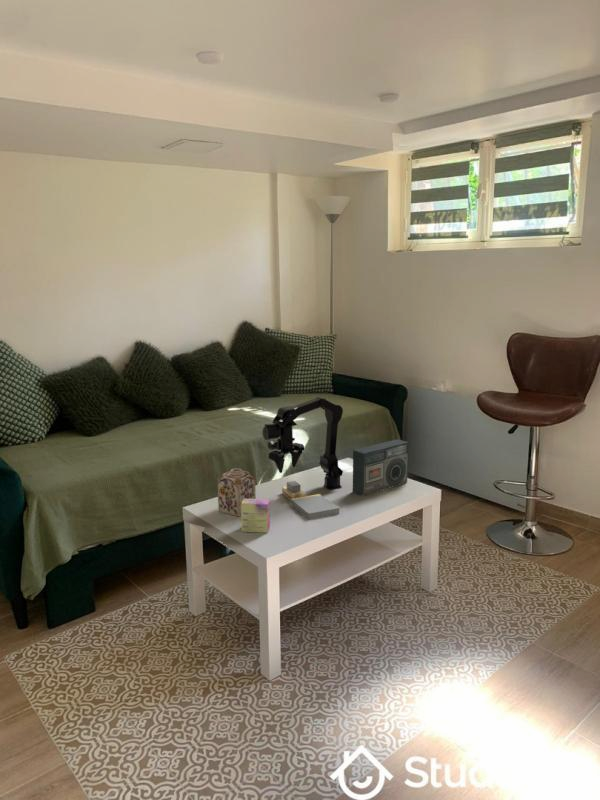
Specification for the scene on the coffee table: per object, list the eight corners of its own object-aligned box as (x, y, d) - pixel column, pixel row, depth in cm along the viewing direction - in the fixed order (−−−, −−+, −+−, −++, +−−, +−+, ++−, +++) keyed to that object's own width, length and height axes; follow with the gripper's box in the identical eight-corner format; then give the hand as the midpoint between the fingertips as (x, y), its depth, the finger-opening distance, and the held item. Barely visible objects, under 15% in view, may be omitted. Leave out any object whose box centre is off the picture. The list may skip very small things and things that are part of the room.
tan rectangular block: (294, 491, 278) (294, 484, 278) (305, 500, 268) (305, 493, 267) (282, 493, 276) (282, 486, 275) (293, 502, 265) (293, 495, 264)
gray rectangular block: (294, 487, 274) (294, 480, 274) (300, 491, 269) (300, 484, 268) (286, 488, 273) (286, 482, 272) (292, 492, 267) (292, 486, 267)
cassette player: (363, 496, 272) (363, 453, 268) (352, 492, 278) (353, 450, 274) (407, 482, 290) (408, 442, 286) (396, 478, 295) (397, 439, 291)
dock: (319, 499, 268) (319, 493, 268) (339, 513, 252) (339, 507, 252) (290, 504, 262) (290, 498, 262) (308, 519, 246) (308, 513, 246)
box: (270, 527, 239) (269, 498, 237) (268, 533, 234) (267, 504, 231) (244, 526, 240) (243, 498, 238) (241, 532, 235) (240, 503, 232)
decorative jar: (239, 517, 248) (238, 476, 245) (217, 512, 255) (216, 471, 251) (256, 508, 258) (256, 468, 255) (235, 503, 264) (234, 463, 261)
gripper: (285, 428, 278) (286, 461, 282) (258, 438, 264) (259, 472, 267) (304, 432, 272) (305, 465, 275) (278, 442, 257) (279, 477, 261)
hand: (287, 469), depth 270 cm, fingers open, 9 cm apart
